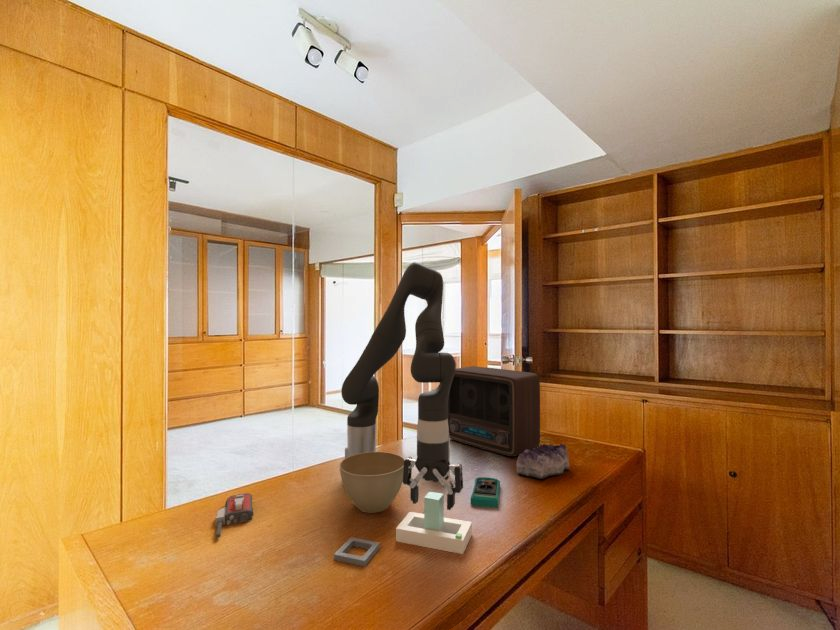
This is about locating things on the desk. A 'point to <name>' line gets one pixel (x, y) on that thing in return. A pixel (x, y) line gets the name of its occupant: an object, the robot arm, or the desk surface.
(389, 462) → the flower pot
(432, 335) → the robot arm
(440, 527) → the plug
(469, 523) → the port panel
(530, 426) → the radio
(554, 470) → the geode
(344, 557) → the grey square ring
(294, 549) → the desk surface
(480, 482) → the digital multimeter
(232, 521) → the walkie-talkie
